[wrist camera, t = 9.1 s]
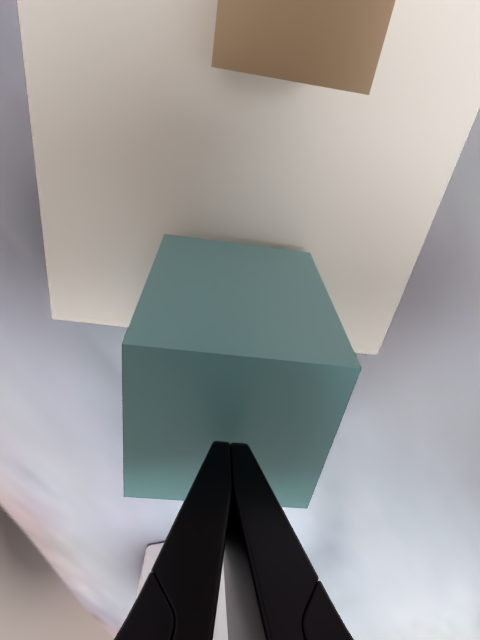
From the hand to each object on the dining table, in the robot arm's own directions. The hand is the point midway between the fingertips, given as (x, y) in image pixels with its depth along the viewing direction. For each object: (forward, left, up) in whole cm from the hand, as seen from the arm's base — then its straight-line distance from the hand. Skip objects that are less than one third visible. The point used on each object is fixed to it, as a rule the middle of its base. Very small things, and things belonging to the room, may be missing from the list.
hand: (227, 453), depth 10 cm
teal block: (0, 0, -7) cm, 7 cm away
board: (0, -5, -8) cm, 9 cm away
